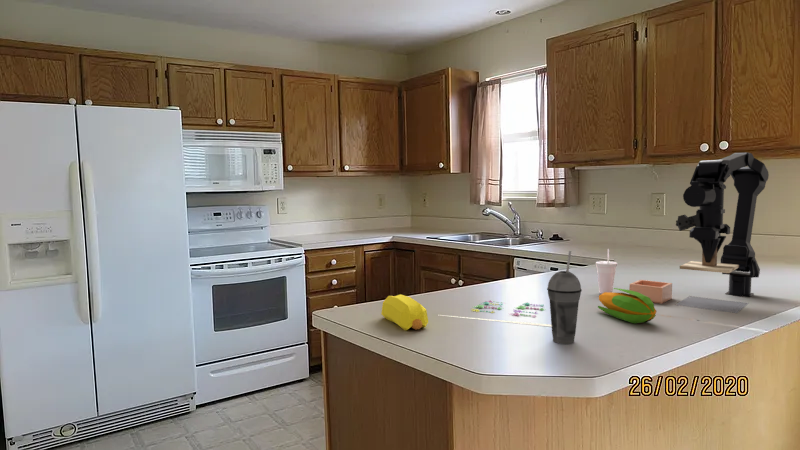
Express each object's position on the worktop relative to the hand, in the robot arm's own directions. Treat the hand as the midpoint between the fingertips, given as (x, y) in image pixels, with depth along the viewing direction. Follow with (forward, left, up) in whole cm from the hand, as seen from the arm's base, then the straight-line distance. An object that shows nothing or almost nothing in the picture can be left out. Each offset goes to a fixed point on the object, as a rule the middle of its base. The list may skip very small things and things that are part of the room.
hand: (709, 261), depth 150 cm
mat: (0, +1, -12) cm, 12 cm away
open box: (+4, -14, -12) cm, 19 cm away
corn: (+29, -13, -13) cm, 34 cm away
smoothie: (+2, -28, -12) cm, 31 cm away
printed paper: (+39, -41, -13) cm, 58 cm away
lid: (0, 0, -2) cm, 2 cm away
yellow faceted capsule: (+69, -52, -13) cm, 88 cm away
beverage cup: (+58, -15, -12) cm, 61 cm away
